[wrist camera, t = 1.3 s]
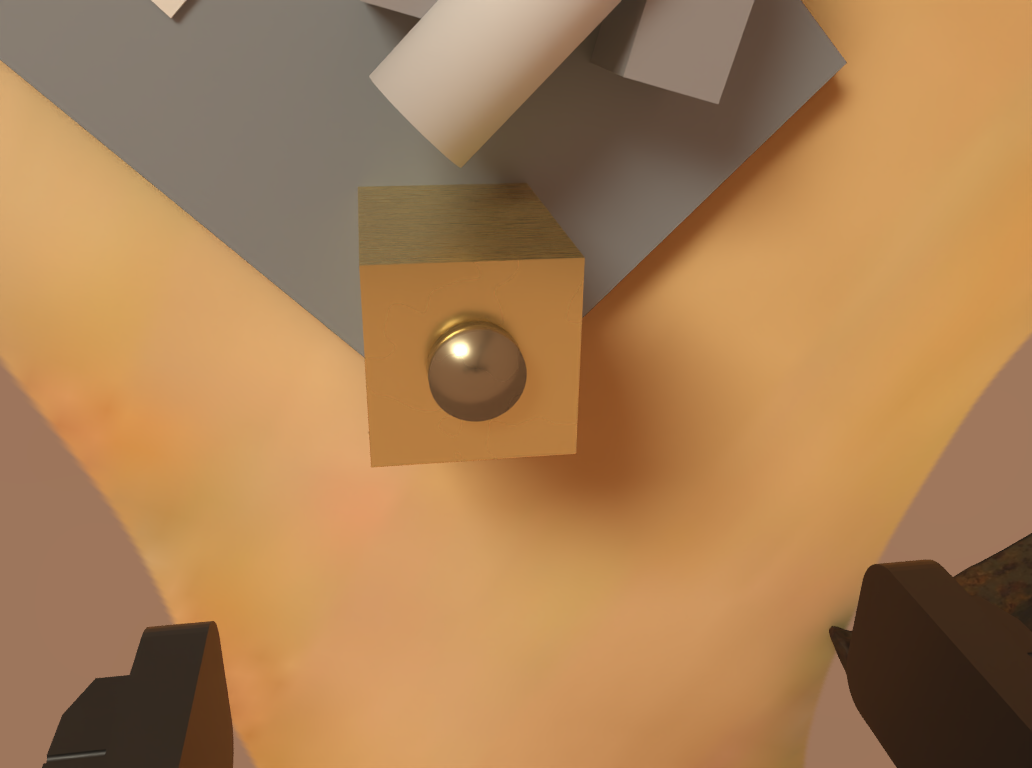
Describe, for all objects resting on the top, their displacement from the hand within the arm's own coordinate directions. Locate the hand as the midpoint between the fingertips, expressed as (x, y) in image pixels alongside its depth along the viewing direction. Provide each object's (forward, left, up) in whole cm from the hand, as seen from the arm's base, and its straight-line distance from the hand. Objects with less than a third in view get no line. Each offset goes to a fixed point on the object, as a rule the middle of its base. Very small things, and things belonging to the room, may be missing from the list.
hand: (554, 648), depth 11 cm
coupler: (0, 0, -16) cm, 16 cm away
